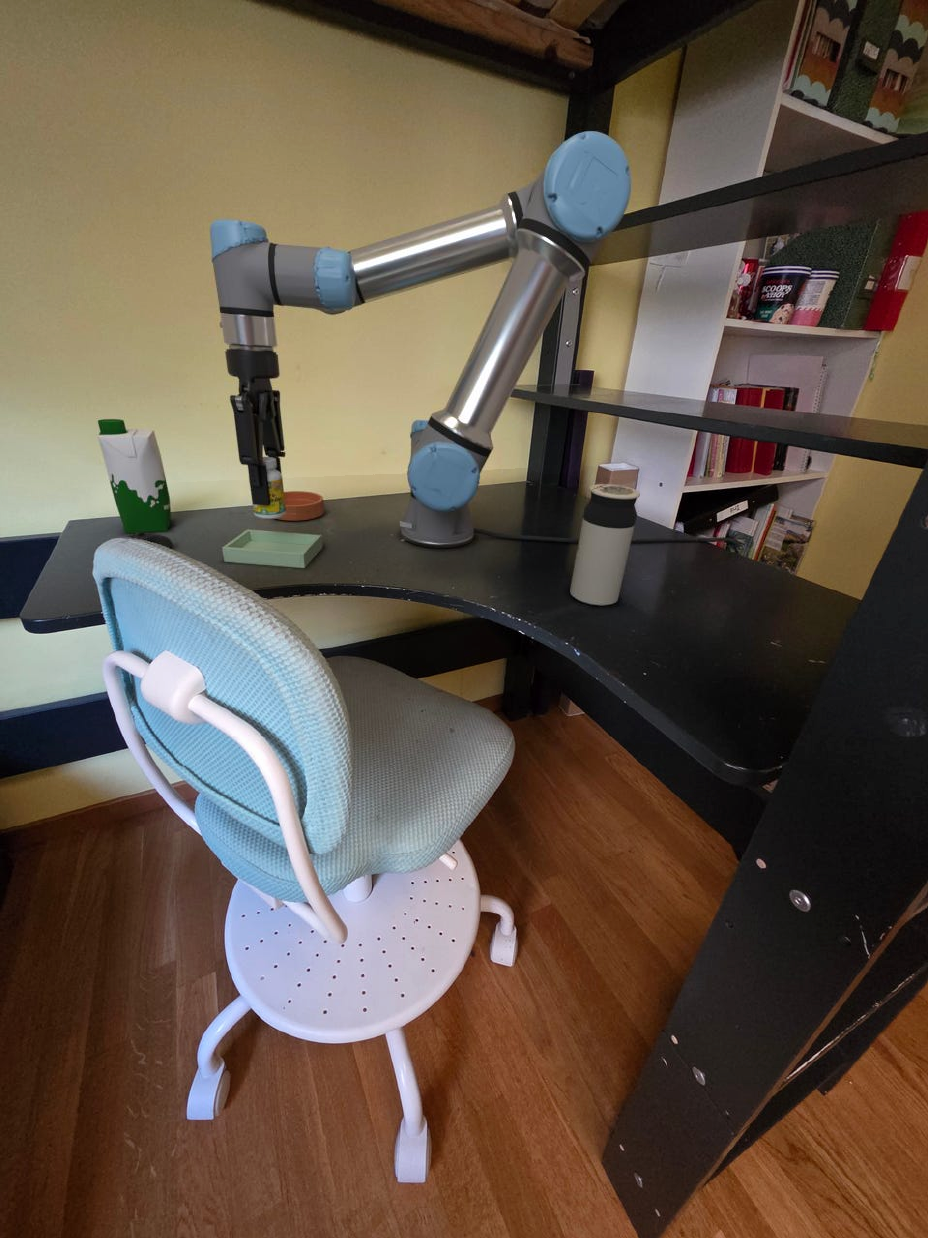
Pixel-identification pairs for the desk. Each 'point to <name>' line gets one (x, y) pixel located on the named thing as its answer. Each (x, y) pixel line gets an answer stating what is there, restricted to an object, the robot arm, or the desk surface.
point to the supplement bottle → (272, 493)
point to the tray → (273, 548)
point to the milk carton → (135, 476)
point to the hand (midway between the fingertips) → (268, 499)
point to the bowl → (302, 505)
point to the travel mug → (604, 544)
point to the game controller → (153, 538)
